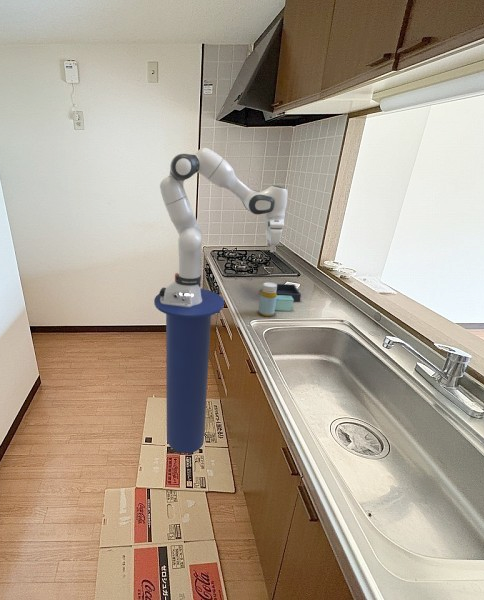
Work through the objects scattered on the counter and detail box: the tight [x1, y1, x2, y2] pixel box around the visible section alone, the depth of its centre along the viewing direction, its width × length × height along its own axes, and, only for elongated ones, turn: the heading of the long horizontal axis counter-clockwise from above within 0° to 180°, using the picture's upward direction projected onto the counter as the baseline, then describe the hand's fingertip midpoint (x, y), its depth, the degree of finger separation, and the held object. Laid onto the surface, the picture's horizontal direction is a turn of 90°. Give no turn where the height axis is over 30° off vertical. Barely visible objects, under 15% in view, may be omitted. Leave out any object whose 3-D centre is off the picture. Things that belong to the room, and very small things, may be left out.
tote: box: [276, 283, 302, 303], centre depth 176 cm, size 15×15×4 cm
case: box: [275, 295, 295, 312], centre depth 160 cm, size 9×5×6 cm, turn 82°
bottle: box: [258, 281, 278, 318], centre depth 153 cm, size 7×7×15 cm
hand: (270, 249), depth 162 cm, fingers open, 8 cm apart
